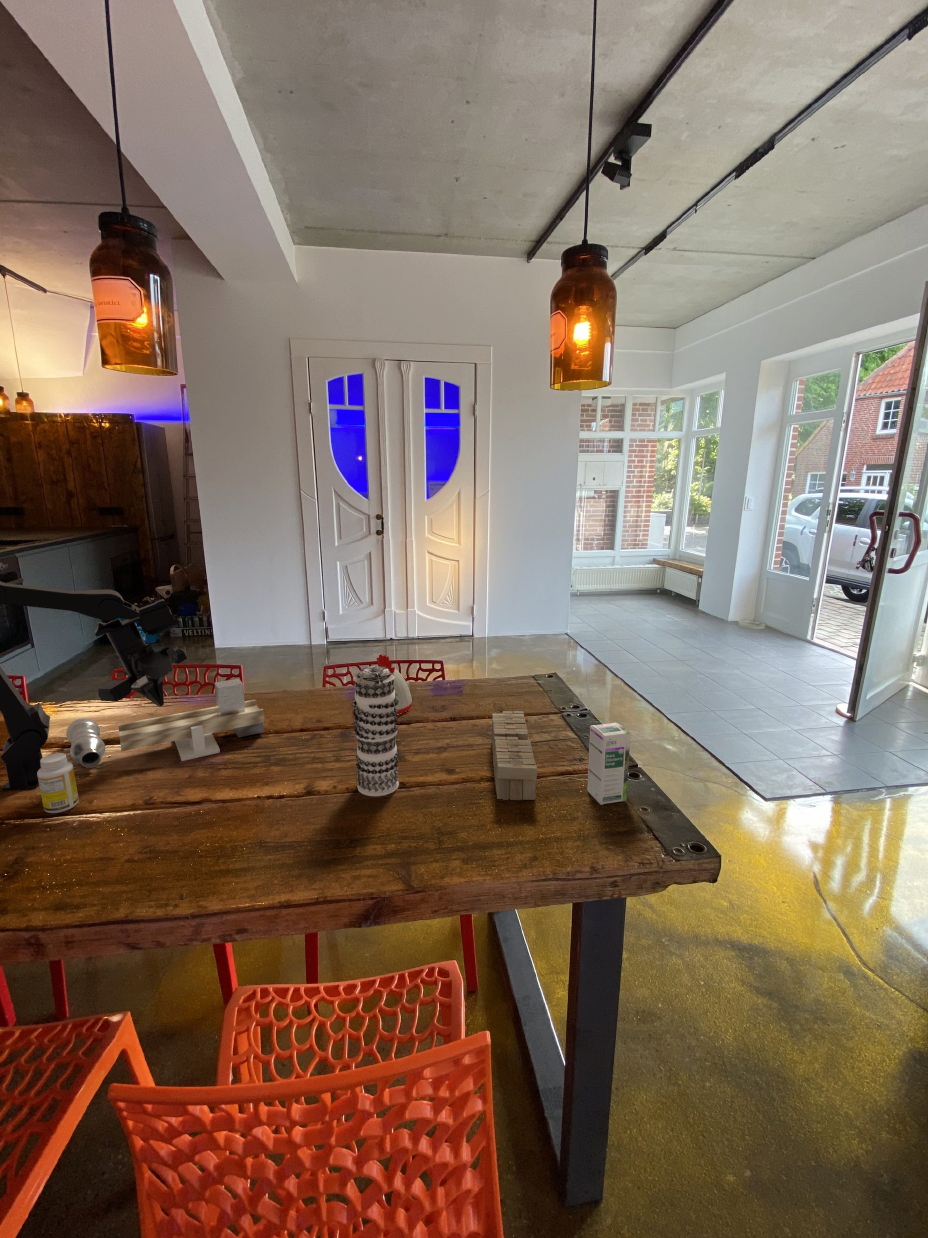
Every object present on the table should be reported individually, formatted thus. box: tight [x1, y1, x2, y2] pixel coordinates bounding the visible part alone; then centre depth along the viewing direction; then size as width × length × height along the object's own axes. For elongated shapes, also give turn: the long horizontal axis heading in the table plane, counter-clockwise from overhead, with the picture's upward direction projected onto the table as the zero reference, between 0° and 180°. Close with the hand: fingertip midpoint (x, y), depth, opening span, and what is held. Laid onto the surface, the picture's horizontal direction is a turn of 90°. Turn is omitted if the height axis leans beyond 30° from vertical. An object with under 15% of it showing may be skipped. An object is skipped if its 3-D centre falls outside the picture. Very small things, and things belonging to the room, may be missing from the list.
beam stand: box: [174, 725, 221, 762], centre depth 134 cm, size 8×14×7 cm, turn 33°
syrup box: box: [586, 721, 631, 806], centre depth 111 cm, size 6×6×14 cm
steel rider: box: [214, 678, 245, 717], centre depth 137 cm, size 6×4×8 cm
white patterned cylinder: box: [351, 665, 400, 797], centre depth 114 cm, size 9×9×25 cm
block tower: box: [491, 710, 538, 801], centre depth 123 cm, size 8×8×29 cm
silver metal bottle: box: [65, 717, 107, 768], centre depth 128 cm, size 6×7×20 cm
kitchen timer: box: [375, 654, 413, 714], centre depth 157 cm, size 14×14×15 cm
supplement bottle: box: [37, 752, 80, 814], centre depth 107 cm, size 6×6×10 cm
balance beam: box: [117, 698, 265, 752], centre depth 133 cm, size 30×8×6 cm, turn 123°
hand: (161, 705), depth 128 cm, fingers closed
